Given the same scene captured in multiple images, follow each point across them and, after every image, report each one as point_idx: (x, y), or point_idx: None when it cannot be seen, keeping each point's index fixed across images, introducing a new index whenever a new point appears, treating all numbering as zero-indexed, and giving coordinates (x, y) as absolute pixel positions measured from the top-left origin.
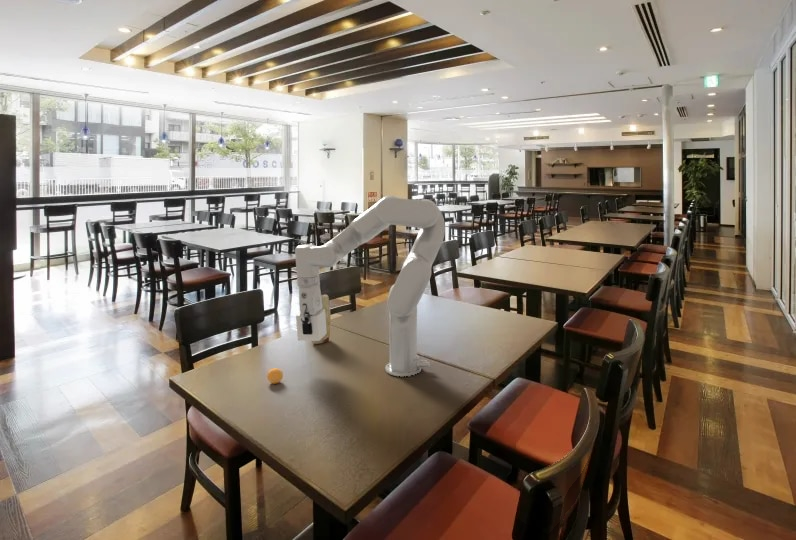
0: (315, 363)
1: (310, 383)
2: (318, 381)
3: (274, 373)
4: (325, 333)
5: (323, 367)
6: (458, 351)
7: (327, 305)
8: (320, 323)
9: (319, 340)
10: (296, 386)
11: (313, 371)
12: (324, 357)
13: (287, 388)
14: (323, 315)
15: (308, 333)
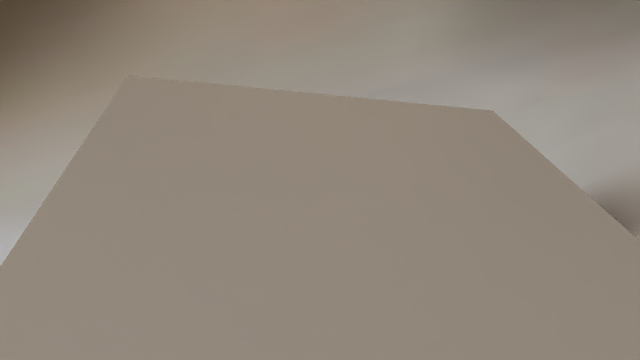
0: None
1: (545, 58)
2: (519, 4)
3: None
4: (189, 88)
5: (245, 25)
6: None
7: None
8: (495, 243)
9: (490, 111)
10: (576, 141)
11: (331, 90)
12: (13, 68)
13: (595, 188)
14: (207, 335)
15: None
